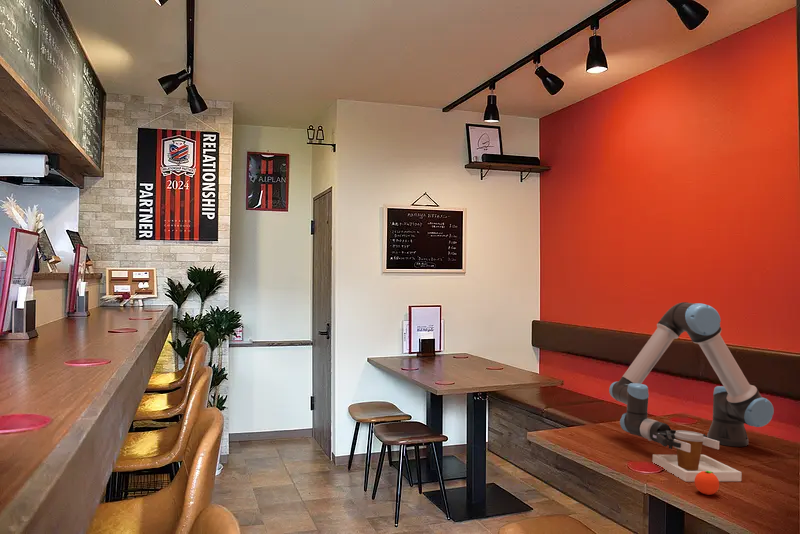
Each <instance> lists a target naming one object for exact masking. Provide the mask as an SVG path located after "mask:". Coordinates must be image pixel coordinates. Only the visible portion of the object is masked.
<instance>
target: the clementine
mask: <svg viewBox="0 0 800 534" xmlns="http://www.w3.org/2000/svg"><path fill="white" fill-rule="evenodd" d="M694 486H695V488H696V489H697V491H698V492H699V493H701V494H703V495H707V496H711V495H714V494H715V493H717V492H718V490H719V489H720V481H719V480H718V478H717V477H716V476H715V475H714V474H713V472H711V471H702V472H700V473H698V474H697V475H696V477H695V482H694Z"/></svg>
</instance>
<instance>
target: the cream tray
mask: <svg viewBox="0 0 800 534" xmlns="http://www.w3.org/2000/svg"><path fill="white" fill-rule="evenodd" d="M651 462H653V463H652V464H654V463H655V464H657V465H659V466H661V467H663V468H664V469H665V470H664V469H663V470H664V471H666V470H667V471H666V472H668V473H670V474H671V473H672V474H671V475H673V474H674V477H676V478H678V477H679V478H678V479H680V480H682V481H684V482H687V483H689V482H690V483H691V482H692V483H695V477H696V475H697V474H698V473H700V472H702V471H711V472H713V474H714V475H715V476H716V477H717V478H718V480H719V482H742V471H740V470H737V469H736V468H734V467H732V466H729V465H727V464H724V463H723V462H721V461H718V460H716V459H714V458H712V457H710V456H708V455H706V454H701V456H700V461H699V467H698V470H686V469H683V468H681V467H679V466H678V460H677V454H652V461H651ZM655 464H654V465H655ZM657 465H656V466H657ZM659 466H658V467H659ZM661 467H660V468H661Z"/></svg>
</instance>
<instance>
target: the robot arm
mask: <svg viewBox="0 0 800 534" xmlns="http://www.w3.org/2000/svg"><path fill="white" fill-rule="evenodd" d="M721 320H722V319H721V316H720V314H719V312H718V310H717V309H715V308H714V307H713V306H711V305H709V304H705V303H699V302H698V303H696V302H695V303H694V302H687V301H686V302H678V303H676V304H674V305H673V306H671V307H670V308H669V309H668V310H667V311H666V312H665V313H664V314H663V316H662V317H661V318H660V319H659V321H658V322H657V323H656V329H655V330H654V332H653V333H652V335H651V336H650V338H649V339H648V340H647V342H646V343H645V344H644V346H643V347H642V348H641V350H640V351H639V353H638V354H637V356H635V358H634V360H633V361H632V363H630V365H629V367H628V369H627V370H626V371H625V372H624V374H623V375H622V376H621V378H620V379H619V381H614V382H612V383H611V384H610V385H609V390H608V391H609V392H608V393H609V395H610V397H612V398H613V399H614V400H615V401H616V402H620V403H622V404H624V405H626V412H624V413H622V415H621V418H620V419H619V424H620V428H621V429H622V430H623V431H625V432H626V433H629V434H631V435H634V436H637V437H640V438H644V439H647V441H648V442H651V441H652V442H654V443H659V444H660V445H661V446H663V447H664V448H665V447H668V449H670V450H672V449H673V448H675V449H676V450H677V449H680V450H683V451H686V452H690V450H691V444H689V443H685V442H682V441H679V440H676V437H675V435H674V434H675V433H676V431H677V430H676V429H672V428H671V427H670V426H669V424H668V423H665V422H662V421H658V420H655V419H652V418H650V417H649V418H648V410H649V409H648V408H649V397H650V394H649V387H648V385H646V384H643V383H644V381H645V379H646V378H647V377H648V376H649V374H650V372H652V369H653V368H654V367H655V365H657V363H658V362H659V360H661V358H662V356H664V353H665V352H666V351H667V350H668V348H669V347H670V346H671V344H672V343H673V341H674V340H675V339H679V338H680V336H681V335H682V334H683V333H685V332H686V333H687V335H688V337H689V339H690V340H691V341H692V343H694V344H697V345H699V348H700V349H701V350H702V352H703V354H704V355H705V357H706V359H707V361H708V363H709V364H710V366H711V367H712V369H713V371H714V372H715V374H716V375H717V377H718V379H719V381H720V383H721V384H722V385H721V386H720V385H717V386H715V387H714V388H713V393H712V394H713V395H712V422H711V425H710V427H709V429H708V432H707V435H706V434H704V433H703V437H704V441H703V444H702V446H705V447H709V448H712V449H715V450H720V445H722V446H726V447H727V446H728V447H738V448H739V447H740V448H743V447H748V446H749V437H748V433H747V431H746V428H745V424H746V425H748V426H751V427H755V428H762V427H765V426H766V425H768V424H769V423H770V422H771V420H772V419H773V416H774V413H775V412H774V411H775V409H774V405H773V404H772V402H771V401H770V399H768V398H765V397H763V396H762V394H761V393H760V391H759V389H758V388H757V387H756V385H752V384H750V382H749V381H748V379H747V377H746V376H745V375H744V373H743V370H742V369H741V368H740V366H739V364H738V363H737V361H736V359H735V358H734V356H733V354H732V353H731V351H730V349H729V347H728V346H727V344H726V343H725V341H724V339H723V337H722V335H721V333H722V327H721V322H722V321H721ZM747 445H748V446H747Z"/></svg>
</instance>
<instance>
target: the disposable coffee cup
mask: <svg viewBox="0 0 800 534" xmlns="http://www.w3.org/2000/svg"><path fill="white" fill-rule="evenodd" d="M703 434H704V433H703ZM703 434H702V433H700V432H696V431H691V430H682V429H681V430H676V433H675V434H674V435H675V437H676V440H679V441H682V442H685V443H689V444H691V450H690V452H686V451H683V450H680V449H677V448H676V455H677V460H678V466H679V467H681V468H683V469H686V470H698V467H699V461H700V456H701V455H702V454H701V453H702V449H703V445H702V444H703V441H704V437H703Z"/></svg>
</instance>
